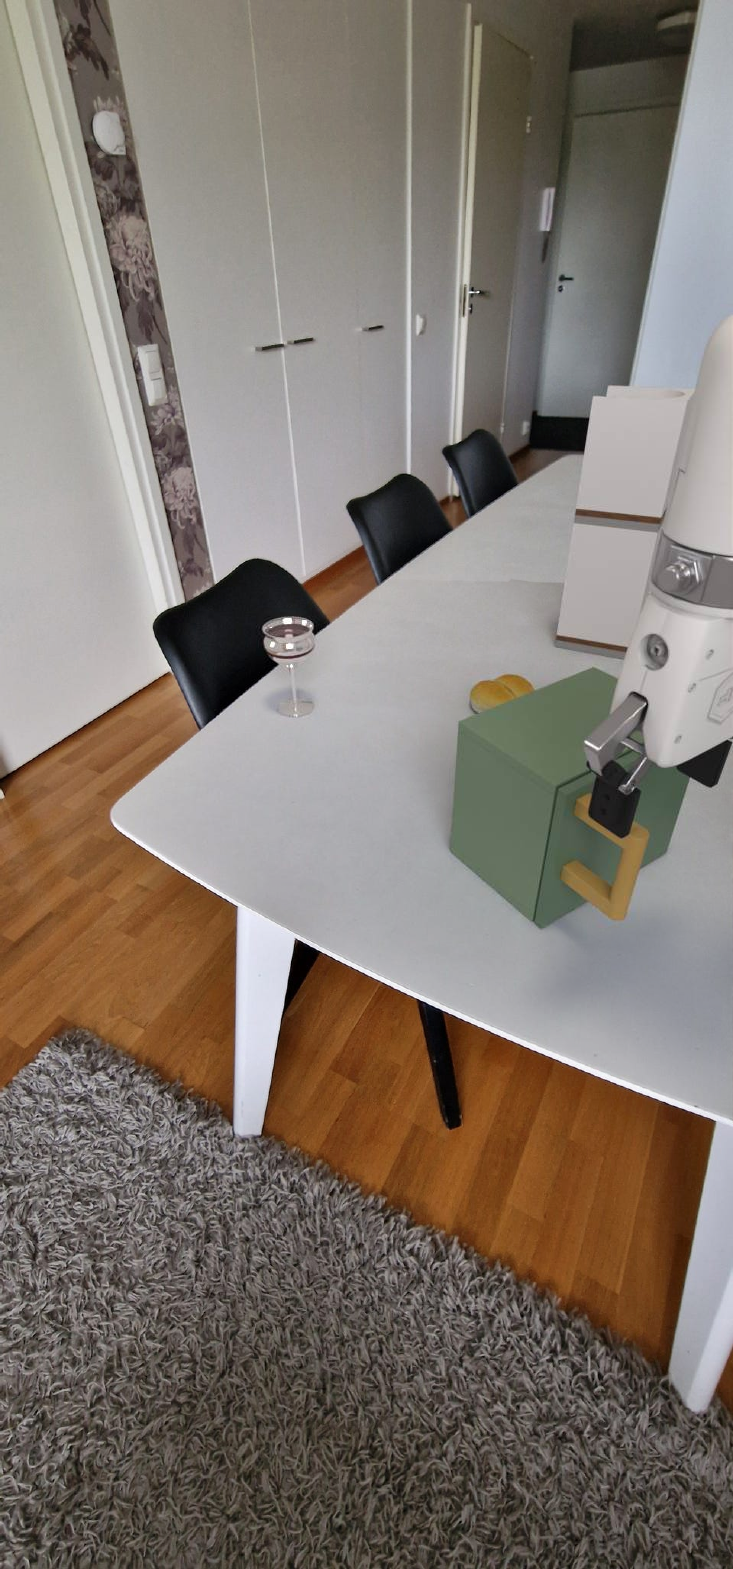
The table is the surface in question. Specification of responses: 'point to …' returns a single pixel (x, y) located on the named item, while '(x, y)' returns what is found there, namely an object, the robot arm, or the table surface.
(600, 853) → the cupboard door
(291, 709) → the wineglass
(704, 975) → the table surface
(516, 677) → the bread roll
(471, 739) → the cupboard
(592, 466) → the tall white column
